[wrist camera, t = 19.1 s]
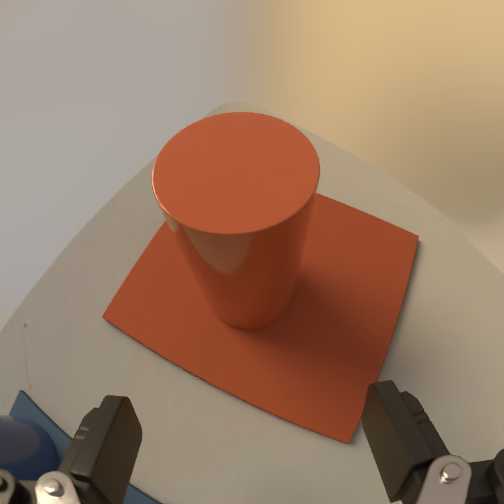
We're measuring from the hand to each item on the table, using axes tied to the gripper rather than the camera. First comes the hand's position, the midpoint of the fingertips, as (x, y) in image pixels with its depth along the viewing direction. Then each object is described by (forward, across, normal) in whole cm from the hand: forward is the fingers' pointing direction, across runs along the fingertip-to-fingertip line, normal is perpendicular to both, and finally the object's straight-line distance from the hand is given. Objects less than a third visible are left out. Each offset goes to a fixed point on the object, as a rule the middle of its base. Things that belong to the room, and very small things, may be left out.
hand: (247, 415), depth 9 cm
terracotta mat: (+10, -2, -1) cm, 10 cm away
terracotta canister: (+10, 0, -1) cm, 10 cm away
